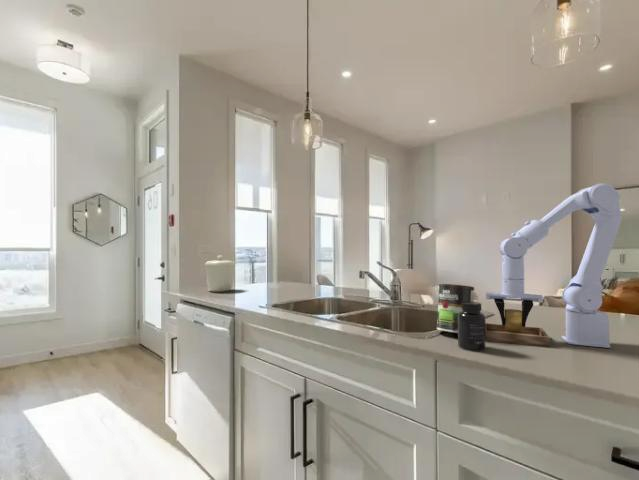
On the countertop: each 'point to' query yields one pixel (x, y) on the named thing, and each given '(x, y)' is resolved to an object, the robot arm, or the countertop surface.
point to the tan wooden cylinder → (513, 321)
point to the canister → (219, 274)
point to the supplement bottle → (471, 327)
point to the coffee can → (451, 305)
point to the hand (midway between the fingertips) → (513, 325)
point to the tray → (517, 335)
